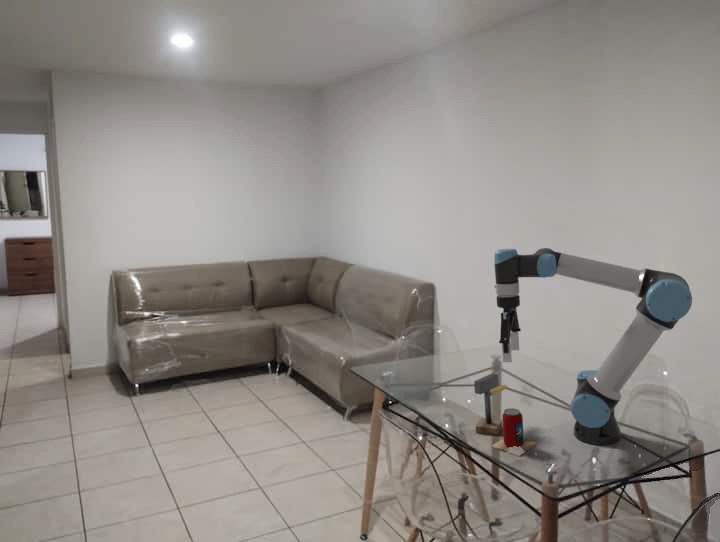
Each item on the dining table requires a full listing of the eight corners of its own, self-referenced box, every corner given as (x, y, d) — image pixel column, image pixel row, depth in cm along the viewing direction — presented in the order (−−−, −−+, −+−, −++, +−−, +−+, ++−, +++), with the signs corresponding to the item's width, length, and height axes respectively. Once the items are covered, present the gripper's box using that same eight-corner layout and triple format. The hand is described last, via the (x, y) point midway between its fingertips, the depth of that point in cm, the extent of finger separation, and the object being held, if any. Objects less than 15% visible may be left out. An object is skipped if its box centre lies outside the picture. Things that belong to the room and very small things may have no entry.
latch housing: (502, 426, 217) (502, 419, 217) (497, 435, 210) (497, 428, 209) (481, 424, 220) (480, 417, 220) (476, 432, 213) (475, 426, 213)
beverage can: (524, 448, 196) (522, 415, 194) (504, 448, 198) (502, 415, 196) (523, 440, 203) (521, 407, 201) (503, 440, 204) (501, 407, 202)
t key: (503, 412, 222) (500, 369, 220) (508, 414, 221) (506, 370, 218) (477, 426, 212) (474, 381, 210) (482, 428, 210) (479, 382, 208)
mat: (536, 444, 200) (536, 442, 200) (519, 456, 192) (519, 454, 192) (508, 436, 208) (508, 434, 208) (491, 447, 201) (491, 445, 200)
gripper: (504, 288, 208) (507, 345, 211) (488, 302, 186) (492, 366, 188) (525, 287, 204) (528, 345, 207) (511, 302, 182) (515, 367, 185)
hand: (511, 355), depth 198 cm, fingers open, 13 cm apart
